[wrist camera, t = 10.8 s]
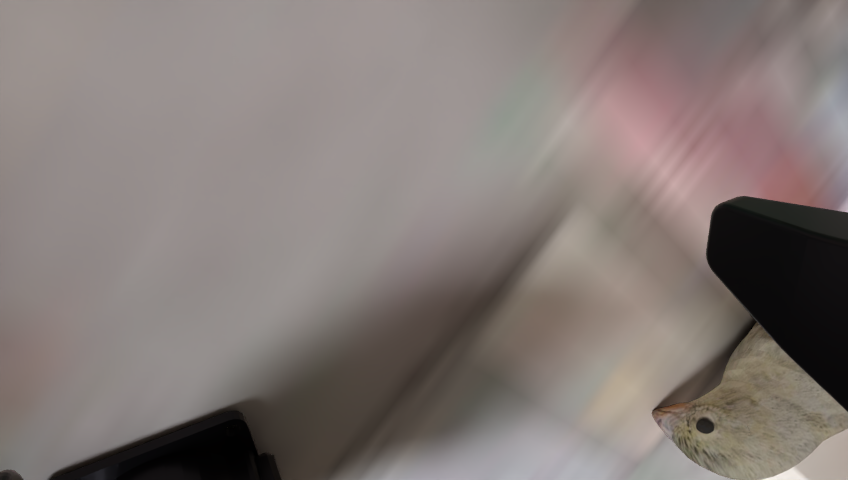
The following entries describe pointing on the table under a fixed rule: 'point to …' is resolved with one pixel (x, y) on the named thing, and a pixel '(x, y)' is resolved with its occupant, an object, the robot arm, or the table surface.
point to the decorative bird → (754, 415)
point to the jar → (822, 462)
